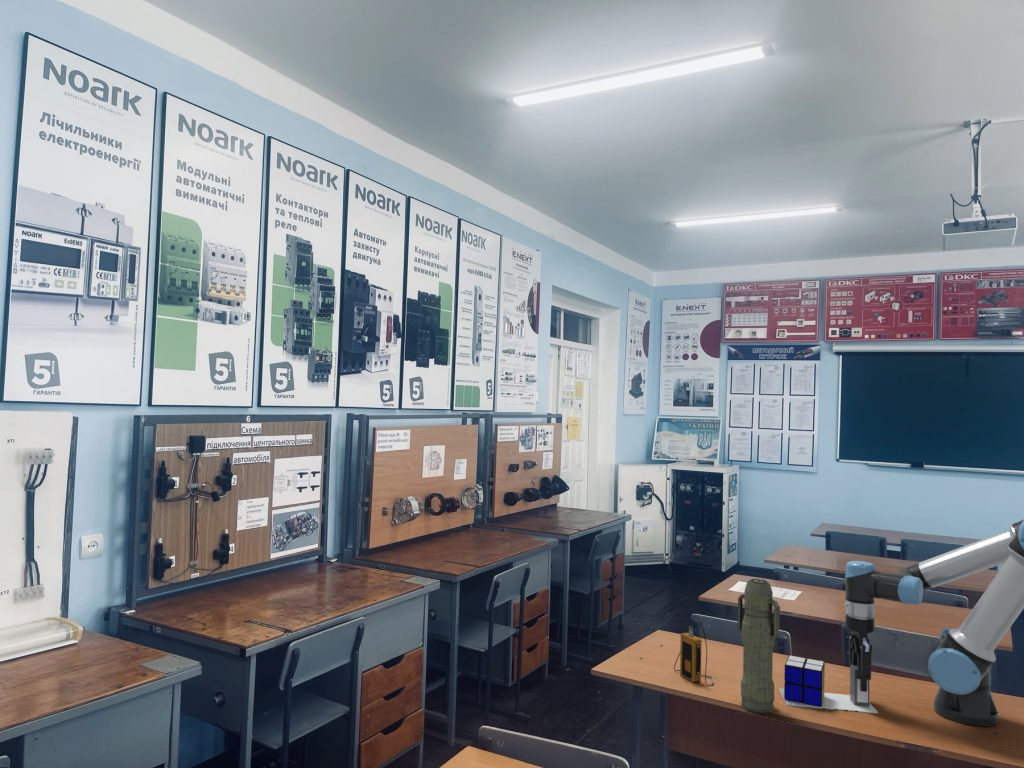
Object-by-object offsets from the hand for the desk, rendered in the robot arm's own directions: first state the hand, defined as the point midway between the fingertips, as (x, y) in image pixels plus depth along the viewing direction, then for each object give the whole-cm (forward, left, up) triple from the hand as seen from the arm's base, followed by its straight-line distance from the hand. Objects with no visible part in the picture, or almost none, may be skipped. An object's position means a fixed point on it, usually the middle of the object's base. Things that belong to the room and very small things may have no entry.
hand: (859, 698), depth 203 cm
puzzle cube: (+15, 0, -1) cm, 15 cm away
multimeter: (+44, -11, -2) cm, 45 cm away
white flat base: (+9, 0, -2) cm, 9 cm away
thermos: (+30, +9, -2) cm, 31 cm away
